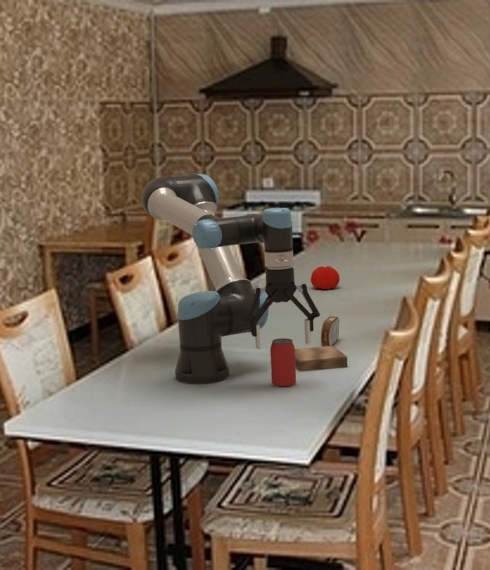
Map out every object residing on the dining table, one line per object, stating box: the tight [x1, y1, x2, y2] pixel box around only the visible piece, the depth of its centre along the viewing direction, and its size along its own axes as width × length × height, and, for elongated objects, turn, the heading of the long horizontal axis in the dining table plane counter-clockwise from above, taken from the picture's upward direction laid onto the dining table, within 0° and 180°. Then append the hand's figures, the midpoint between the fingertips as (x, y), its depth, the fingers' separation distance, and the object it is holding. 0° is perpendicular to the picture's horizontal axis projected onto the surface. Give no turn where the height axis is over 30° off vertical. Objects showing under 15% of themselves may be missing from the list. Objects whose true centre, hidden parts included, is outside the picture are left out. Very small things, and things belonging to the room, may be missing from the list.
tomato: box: [310, 266, 341, 290], centre depth 393 cm, size 11×12×9 cm
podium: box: [295, 345, 348, 372], centre depth 276 cm, size 14×14×3 cm
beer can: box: [269, 337, 297, 388], centre depth 256 cm, size 7×7×12 cm
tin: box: [320, 315, 340, 347], centre depth 298 cm, size 15×3×8 cm, turn 162°
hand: (283, 346), depth 255 cm, fingers open, 13 cm apart
